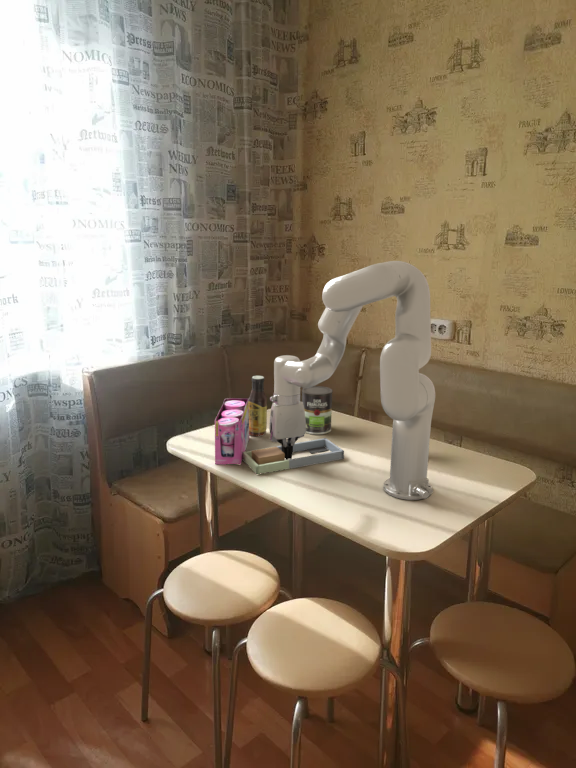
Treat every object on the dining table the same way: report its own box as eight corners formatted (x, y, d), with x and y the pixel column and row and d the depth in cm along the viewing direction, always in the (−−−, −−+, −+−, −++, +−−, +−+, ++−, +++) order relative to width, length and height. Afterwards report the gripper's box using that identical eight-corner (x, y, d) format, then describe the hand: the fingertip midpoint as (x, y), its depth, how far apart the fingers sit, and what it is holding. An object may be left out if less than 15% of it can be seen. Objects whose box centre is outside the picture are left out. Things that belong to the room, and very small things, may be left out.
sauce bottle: (244, 433, 194) (243, 376, 189) (258, 429, 198) (257, 373, 193) (256, 439, 190) (255, 380, 184) (271, 434, 194) (270, 377, 188)
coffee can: (332, 435, 193) (333, 394, 190) (301, 434, 194) (301, 394, 190) (331, 424, 203) (332, 385, 199) (301, 424, 204) (301, 385, 200)
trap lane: (343, 458, 174) (344, 450, 174) (256, 474, 163) (256, 466, 163) (325, 445, 184) (325, 438, 184) (242, 459, 173) (242, 452, 173)
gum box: (240, 467, 168) (239, 423, 165) (213, 466, 169) (212, 422, 165) (249, 437, 191) (249, 398, 188) (225, 437, 192) (224, 397, 188)
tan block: (284, 466, 170) (284, 453, 168) (259, 471, 166) (259, 458, 165) (276, 458, 175) (276, 446, 174) (251, 463, 172) (251, 450, 171)
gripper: (268, 405, 162) (268, 466, 167) (316, 398, 167) (315, 458, 172) (258, 398, 168) (259, 457, 173) (304, 392, 174) (304, 449, 179)
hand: (287, 457), depth 173 cm, fingers closed
